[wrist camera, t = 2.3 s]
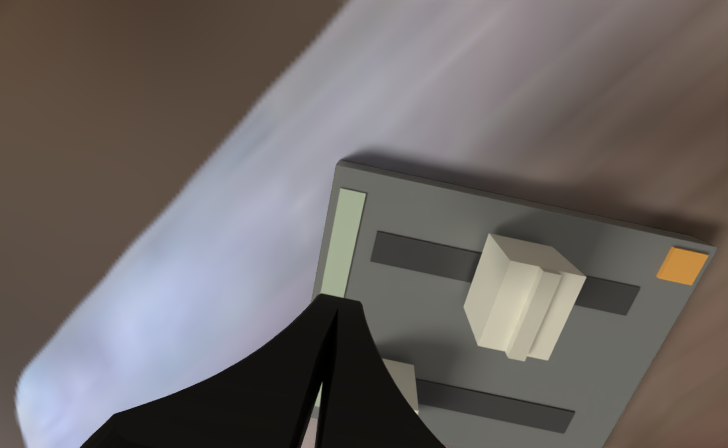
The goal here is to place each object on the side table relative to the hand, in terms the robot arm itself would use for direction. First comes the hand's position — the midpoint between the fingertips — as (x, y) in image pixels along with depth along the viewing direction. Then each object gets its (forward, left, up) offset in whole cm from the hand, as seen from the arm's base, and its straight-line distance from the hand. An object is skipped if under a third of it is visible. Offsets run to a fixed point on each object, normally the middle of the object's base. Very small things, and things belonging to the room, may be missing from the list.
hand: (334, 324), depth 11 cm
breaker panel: (-4, -8, -8) cm, 12 cm away
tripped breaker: (0, -8, -6) cm, 10 cm away
